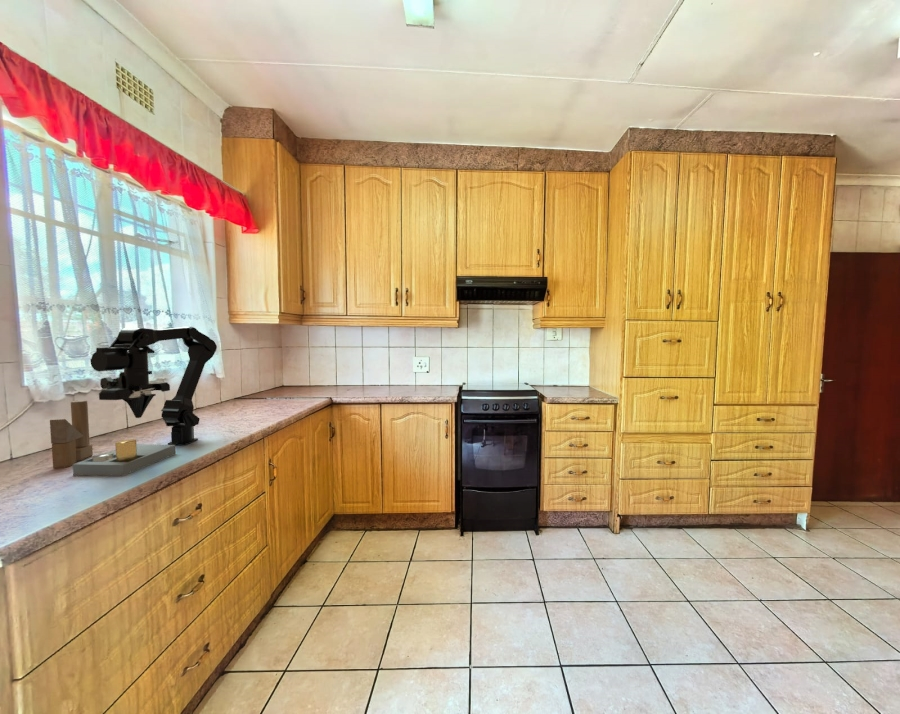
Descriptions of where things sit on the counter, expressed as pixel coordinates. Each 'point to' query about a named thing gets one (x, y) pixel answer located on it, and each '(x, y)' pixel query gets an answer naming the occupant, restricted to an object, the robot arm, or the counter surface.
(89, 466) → the jig
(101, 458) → the chrome sphere
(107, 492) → the counter surface
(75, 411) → the wooden block
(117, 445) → the brass cylinder
